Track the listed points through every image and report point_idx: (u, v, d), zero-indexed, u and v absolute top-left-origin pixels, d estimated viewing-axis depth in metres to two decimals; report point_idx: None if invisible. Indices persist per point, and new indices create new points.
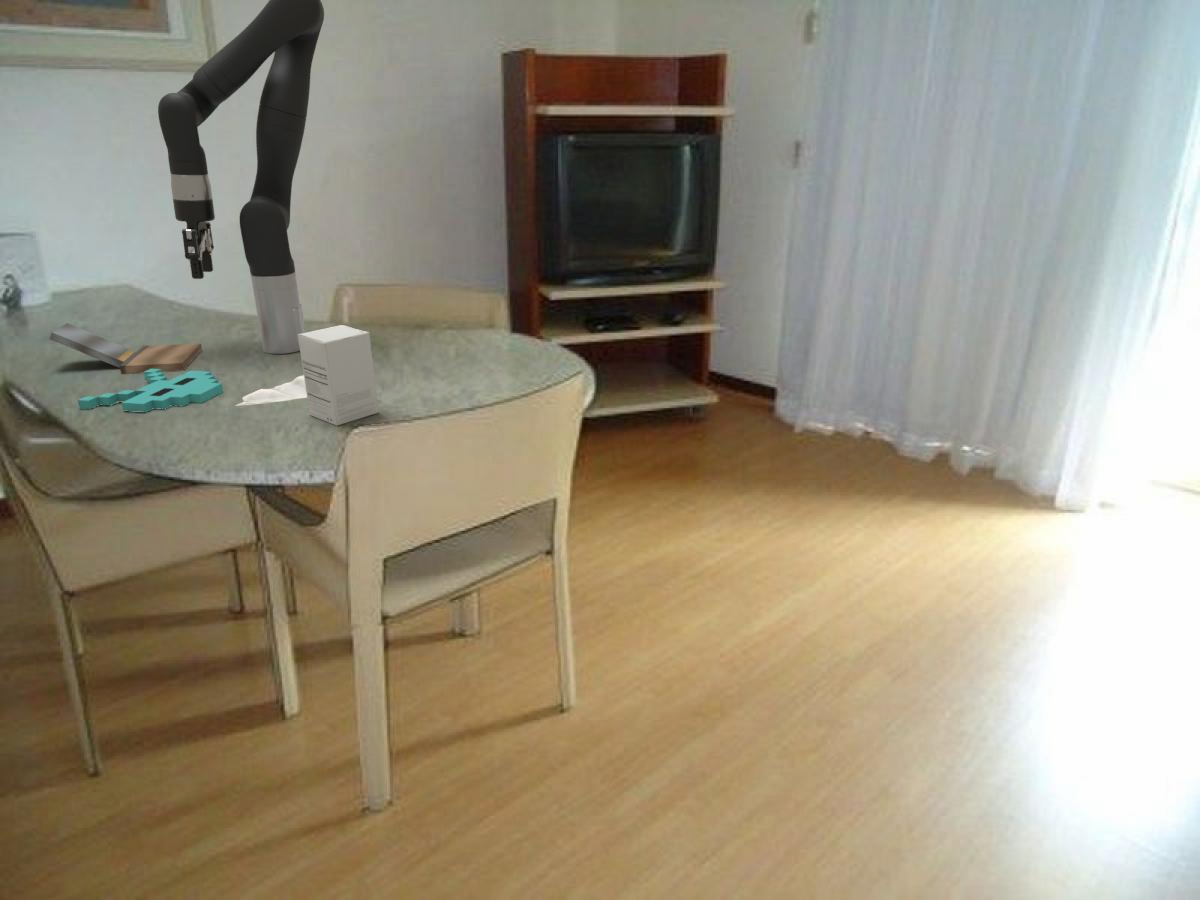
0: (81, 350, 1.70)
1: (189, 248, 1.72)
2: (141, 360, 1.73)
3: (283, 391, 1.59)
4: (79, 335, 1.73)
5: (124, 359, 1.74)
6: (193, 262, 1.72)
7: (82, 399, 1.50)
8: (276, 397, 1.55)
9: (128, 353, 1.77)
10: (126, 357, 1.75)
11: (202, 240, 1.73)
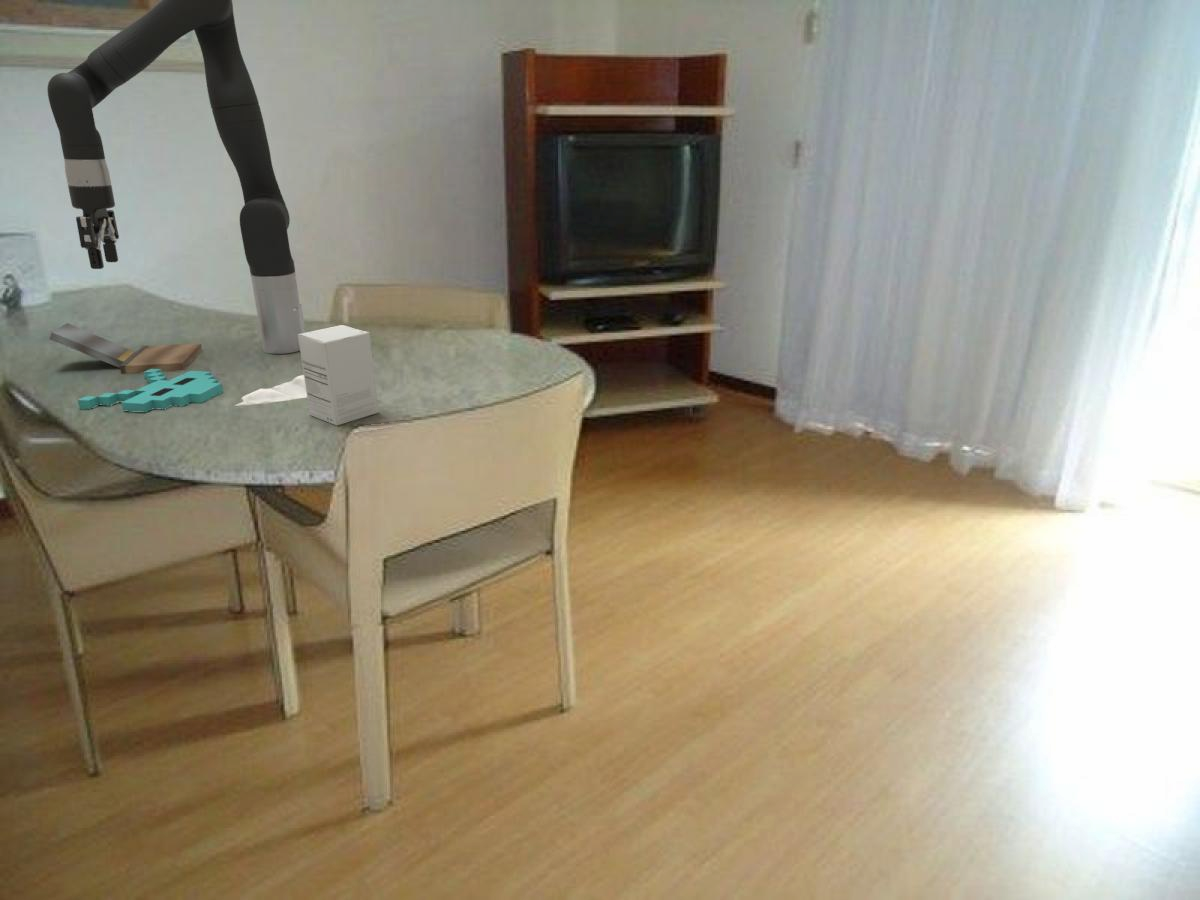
0: (81, 350, 1.70)
1: (86, 237, 1.64)
2: (141, 360, 1.73)
3: (283, 391, 1.59)
4: (79, 335, 1.73)
5: (124, 359, 1.74)
6: (91, 251, 1.64)
7: (82, 399, 1.50)
8: (276, 397, 1.55)
9: (128, 353, 1.77)
10: (126, 357, 1.75)
11: (100, 228, 1.65)
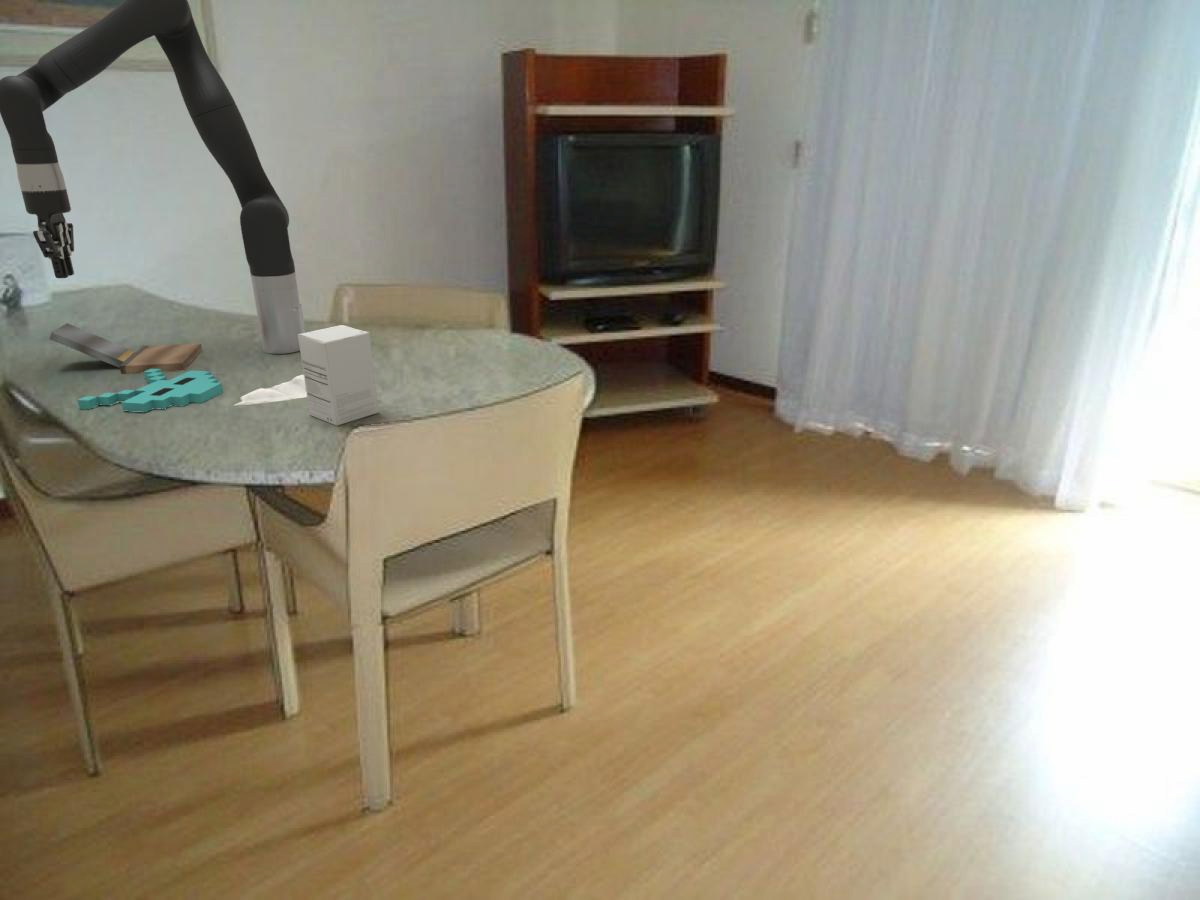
0: (81, 350, 1.70)
1: None
2: (141, 360, 1.73)
3: (282, 390, 1.59)
4: (79, 335, 1.73)
5: (124, 359, 1.74)
6: (54, 261, 1.64)
7: (82, 399, 1.50)
8: (275, 396, 1.55)
9: (128, 353, 1.77)
10: (126, 357, 1.75)
11: (59, 236, 1.63)
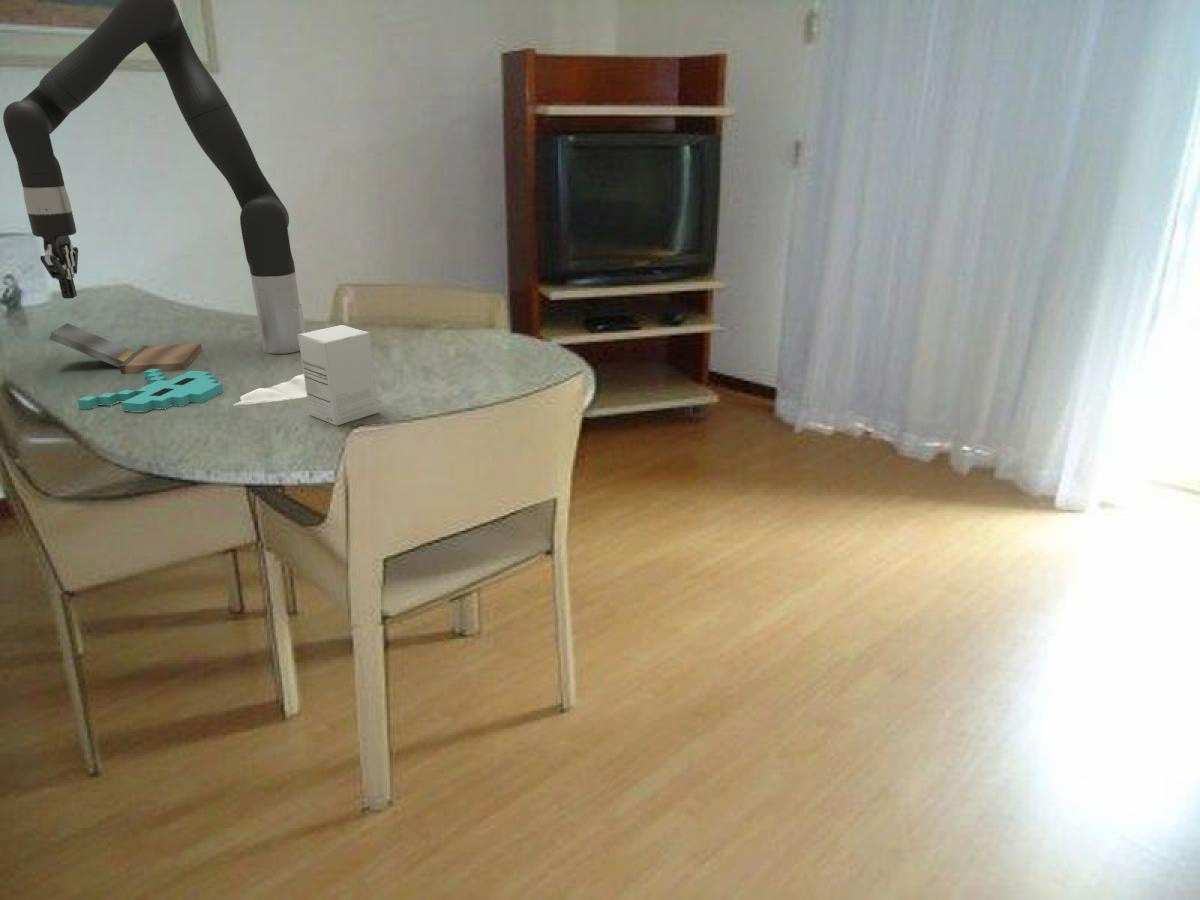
0: (81, 350, 1.70)
1: None
2: (141, 360, 1.73)
3: (281, 390, 1.59)
4: (79, 335, 1.73)
5: (124, 359, 1.74)
6: (62, 281, 1.67)
7: (82, 399, 1.50)
8: (274, 396, 1.55)
9: (128, 353, 1.77)
10: (126, 357, 1.75)
11: (65, 259, 1.65)
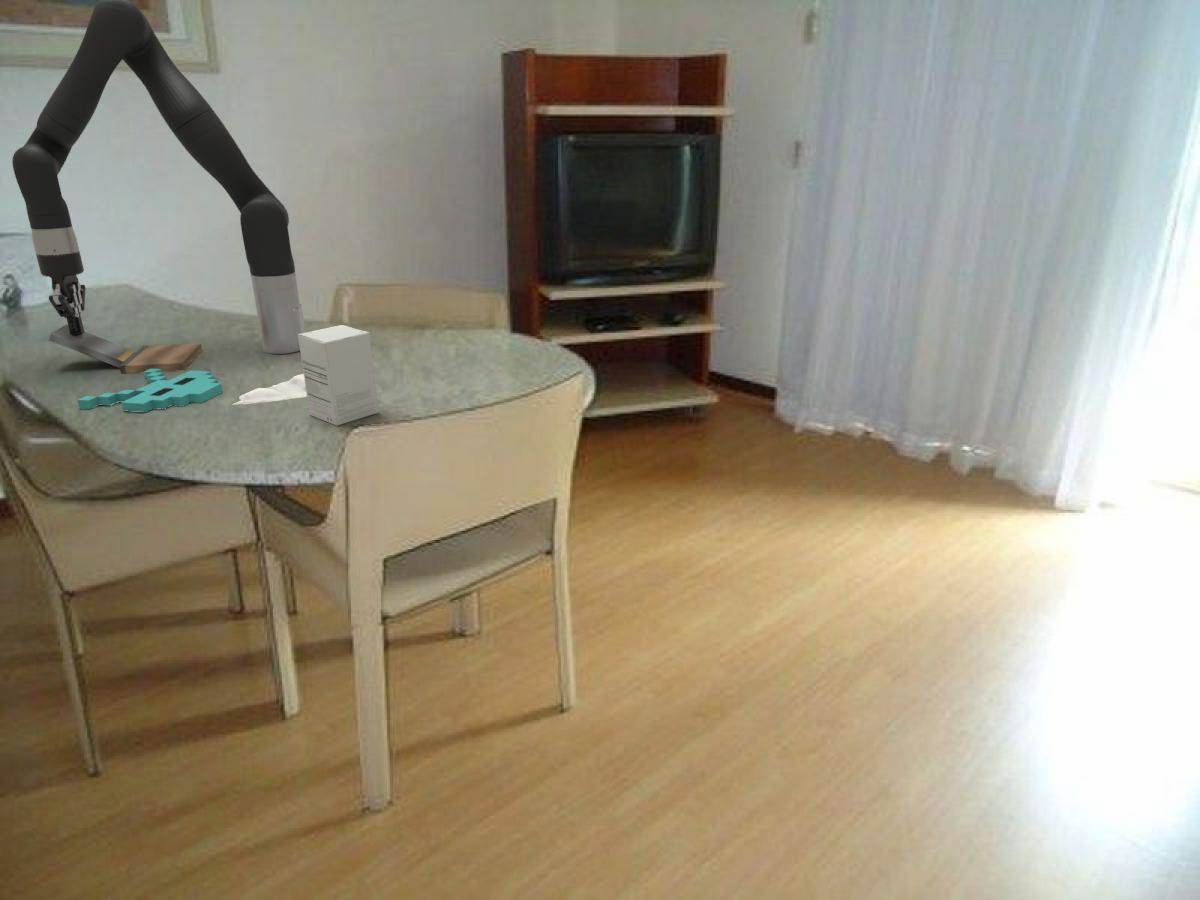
0: (81, 351, 1.70)
1: None
2: (141, 360, 1.73)
3: (280, 390, 1.60)
4: (78, 336, 1.73)
5: (124, 359, 1.74)
6: (69, 319, 1.70)
7: (82, 399, 1.50)
8: (273, 396, 1.55)
9: (128, 353, 1.77)
10: (126, 357, 1.75)
11: (73, 297, 1.68)
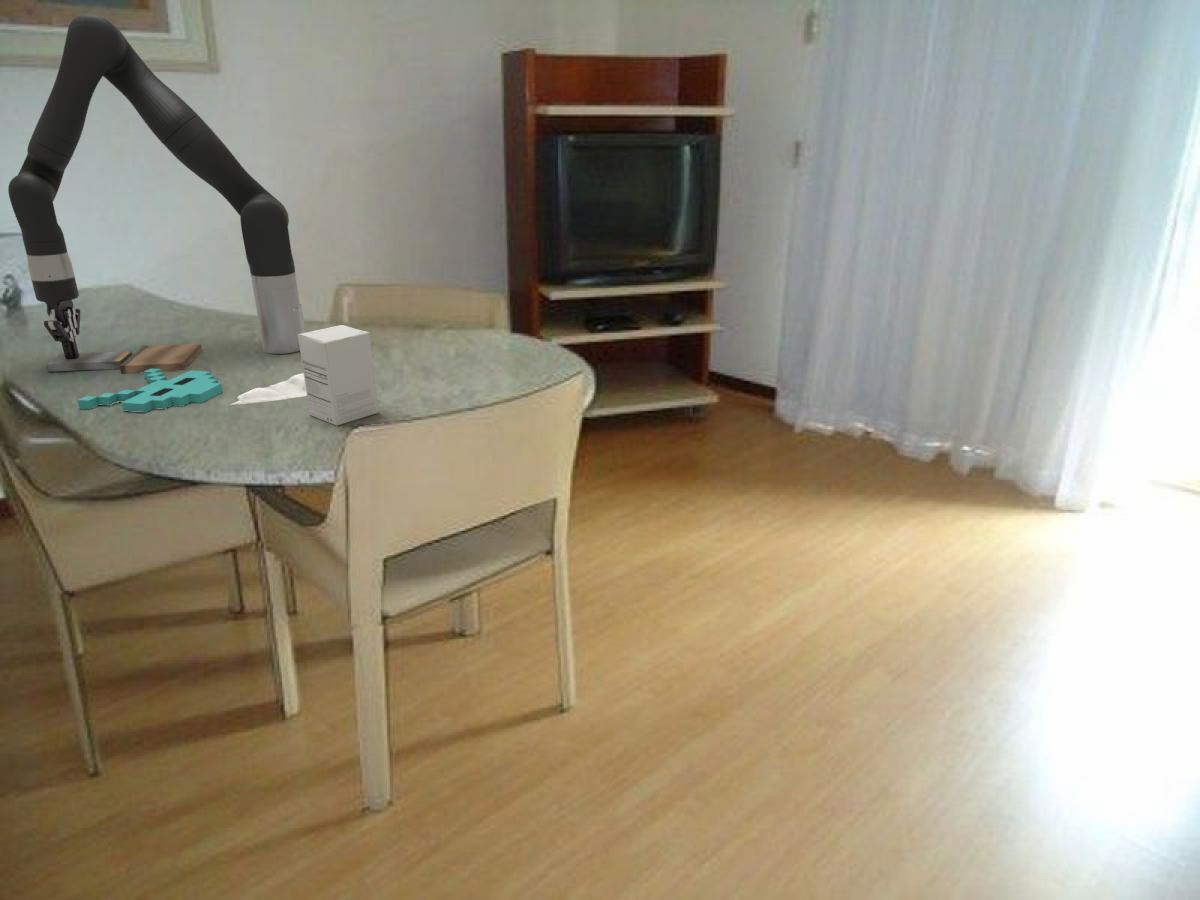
0: (79, 368, 1.71)
1: None
2: (141, 360, 1.73)
3: (278, 390, 1.60)
4: None
5: (120, 359, 1.74)
6: (64, 344, 1.71)
7: (82, 399, 1.50)
8: (271, 396, 1.55)
9: (124, 354, 1.77)
10: (122, 357, 1.75)
11: (68, 322, 1.70)
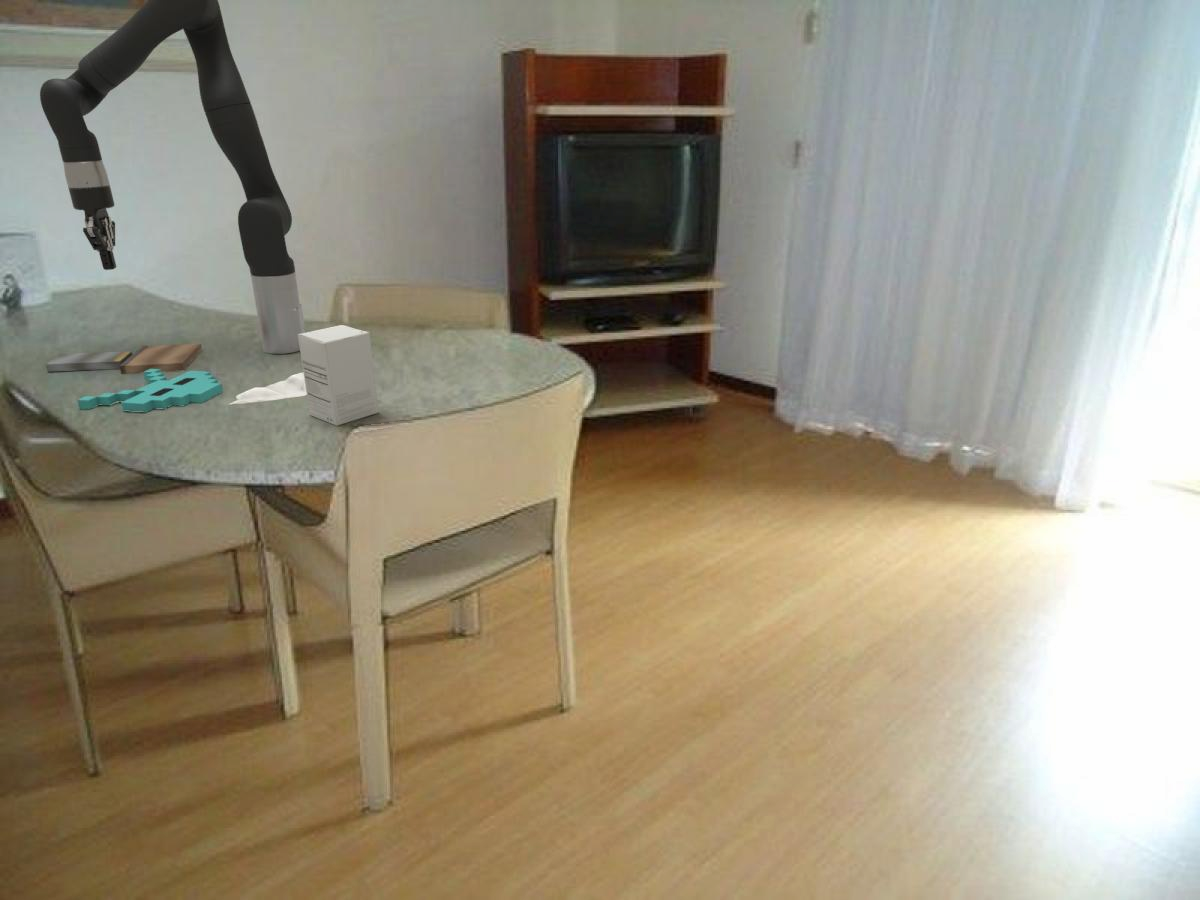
0: (79, 368, 1.71)
1: None
2: (141, 360, 1.73)
3: (277, 389, 1.60)
4: (73, 358, 1.74)
5: (120, 359, 1.74)
6: (102, 253, 1.74)
7: (82, 399, 1.50)
8: (270, 395, 1.56)
9: (124, 354, 1.77)
10: (122, 357, 1.75)
11: (105, 231, 1.73)
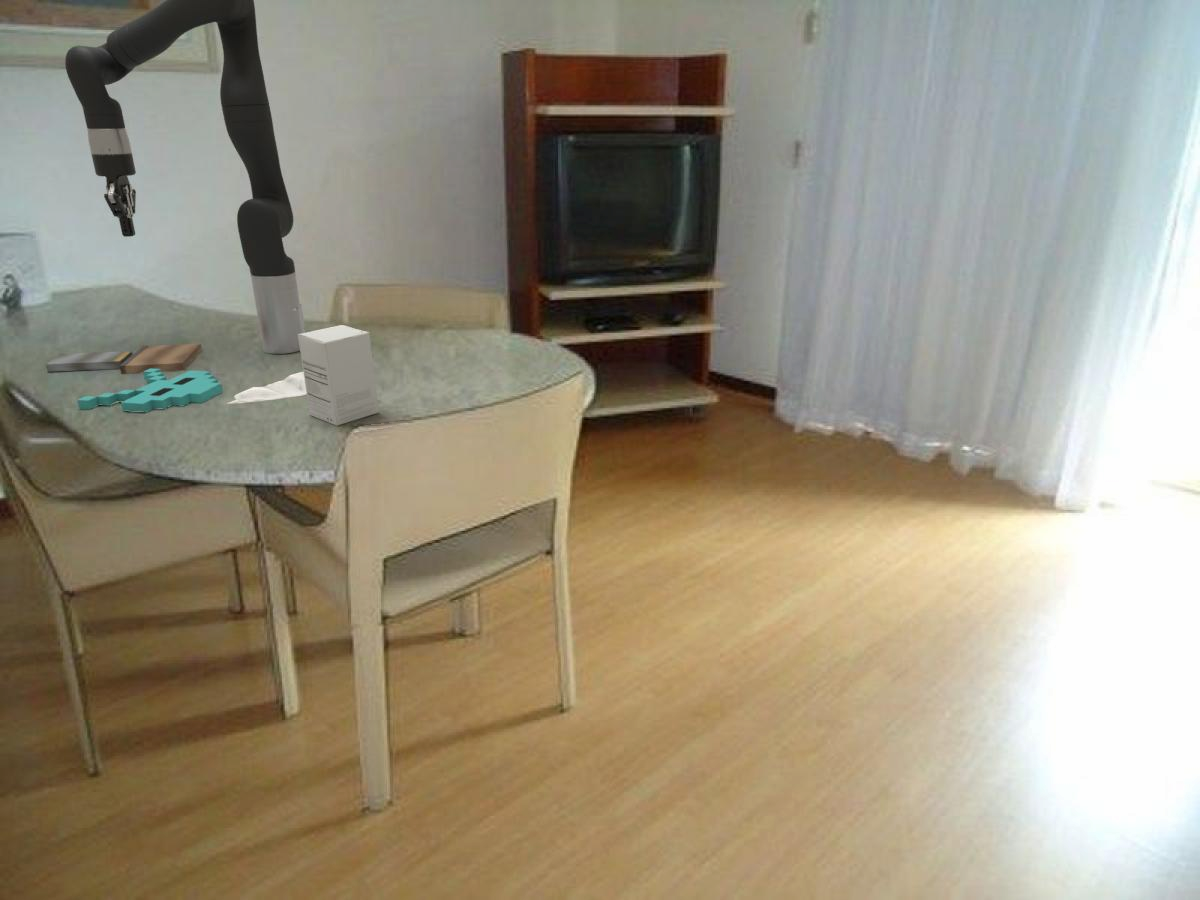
0: (79, 368, 1.71)
1: None
2: (141, 360, 1.73)
3: (275, 389, 1.60)
4: (73, 358, 1.74)
5: (120, 359, 1.74)
6: (122, 220, 1.77)
7: (82, 399, 1.50)
8: (268, 395, 1.56)
9: (124, 354, 1.77)
10: (122, 357, 1.75)
11: (126, 198, 1.76)
